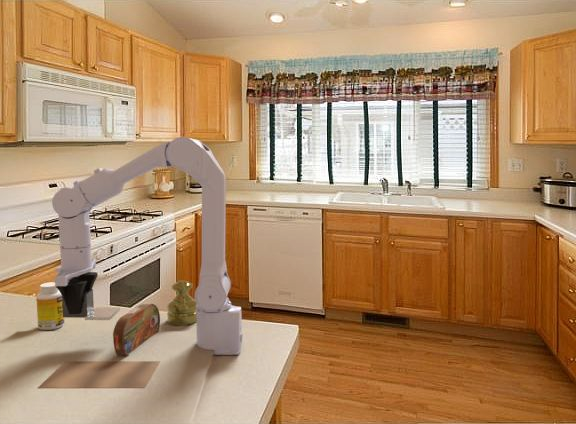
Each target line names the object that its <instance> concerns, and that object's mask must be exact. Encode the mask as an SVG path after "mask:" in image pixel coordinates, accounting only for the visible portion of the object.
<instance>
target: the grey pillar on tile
mask: <svg viewBox="0 0 576 424" xmlns="http://www.w3.org/2000/svg"><path fill="white" fill-rule="evenodd" d="M94 303H95V302H94V289H93V288H92V289H84V291H83V296H82V308H81V312H80V314H69V312H68V310H67V307H66V304H65V301H64V298H63V296H62V309H63V317H64V319H65V318H67V319H69V318H70V319H72V318H75V319H76V318H79V319H81V318H82V319H83V318H84V321H110V320H111V319H113V318H114V317H115V316H116V315H117V314H118V313H119V312H120V311H121V307H108V306H107V307H104V306H103V307H101V306H100V307H99V306H97V307H94V306H95V305H94Z"/></svg>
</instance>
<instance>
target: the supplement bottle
mask: <svg viewBox="0 0 576 424" xmlns="http://www.w3.org/2000/svg"><path fill="white" fill-rule="evenodd" d="M35 297H36V314H37V315H36V316H37V327H38V329H40V330H42V331H52V330H57V329H59V328H61V327H63V326H64V324H65V318H64V317H63V309H62V294H61V293H60V291H59V290H58V289H57V288H56V286H55V281H54V282H53V281H51V282H50V281H49V282H44V283H42V284H40V285H39V292H38V293H37V294H36V296H35Z"/></svg>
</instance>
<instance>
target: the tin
mask: <svg viewBox="0 0 576 424" xmlns="http://www.w3.org/2000/svg"><path fill="white" fill-rule="evenodd" d="M160 326H161V314H160V310H159V308H158V307H157V305H156V304H155V303H146V304H145V303H144V304H139V305H138V306H136V307H134V308H132V310H130V311H129V312H127V313H125V314H124V315H122V316H121V317H119V319H118V320H117V321H116V324H115V325H114V328H113V333H112V337H113V338H112V339H113V348H114V352H115V353H116V355H118V356H127V357H128V356H130V354H131V353H132V352H133V351H134V350H136V349H137V348H138V347H140V346H141V345H142V344H143V343H145V342H146V341H147V340H149V338H151V337H153V336H154V335H155V334H157V333H159V332H160Z"/></svg>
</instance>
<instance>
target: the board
mask: <svg viewBox="0 0 576 424" xmlns="http://www.w3.org/2000/svg"><path fill="white" fill-rule="evenodd" d="M160 363H161V361H158V360H157V361H156V360H154V361H153V360H151V361H150V360H149V361H148V360H146V361H145V360H144V361H143V360H142V361H139V360H138V361H135V360H134V361H133V360H131V361H129V360H127V361H126V360H125V361H124V360H123V361H120V360H117V361H116V360H115V361H114V360H112V361H111V360H110V361H107V360H105V361H103V360H99V361H96V360H95V361H93V360H92V361H90V360H89V361H85V360H84V361H81V360H80V361H79V360H78V361H77V360H75V361H74V360H73V361H71V360H70V361H64V362H63V363H62V364H61V365H60V366H59V367H57V369H56V370H55V371H54V372H52V373H51V374H50V375H49V376H48V377H47V378H46V379H45V380H44V381H43V382H42V383H41V384H40V385H39V386H38V387H37V389H145V388H146V387H147V385H148V383H149V381H151V379H152V376H153V375H154V374H155V372H156V369H157V368H158V366H159V365H160Z"/></svg>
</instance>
